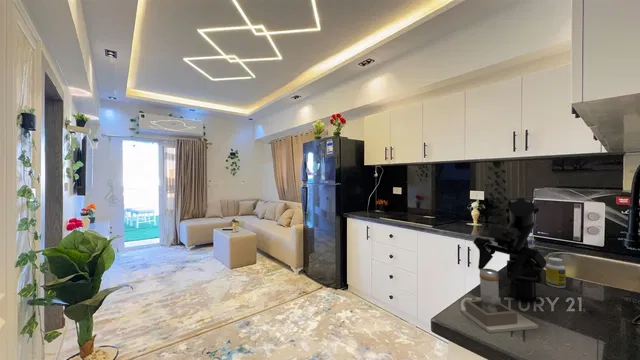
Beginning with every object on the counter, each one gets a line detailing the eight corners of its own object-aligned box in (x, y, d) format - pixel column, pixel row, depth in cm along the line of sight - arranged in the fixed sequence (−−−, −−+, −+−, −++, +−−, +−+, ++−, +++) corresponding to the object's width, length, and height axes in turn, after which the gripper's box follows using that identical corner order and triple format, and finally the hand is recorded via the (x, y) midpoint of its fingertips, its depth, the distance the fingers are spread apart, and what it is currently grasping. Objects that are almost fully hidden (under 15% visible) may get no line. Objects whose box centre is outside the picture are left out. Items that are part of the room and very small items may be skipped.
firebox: (502, 307, 82) (502, 295, 82) (538, 328, 70) (537, 313, 70) (460, 311, 81) (459, 298, 81) (489, 333, 69) (489, 318, 69)
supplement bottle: (561, 289, 94) (560, 261, 94) (543, 284, 99) (542, 258, 99) (569, 286, 96) (568, 259, 97) (551, 281, 101) (550, 256, 101)
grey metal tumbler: (491, 312, 78) (490, 267, 78) (504, 320, 73) (502, 273, 73) (477, 313, 77) (475, 268, 78) (488, 321, 73) (487, 274, 73)
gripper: (476, 213, 89) (452, 250, 86) (538, 220, 72) (511, 267, 68) (493, 233, 92) (471, 270, 89) (557, 245, 75) (533, 292, 71)
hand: (493, 274), depth 79 cm, fingers open, 9 cm apart
